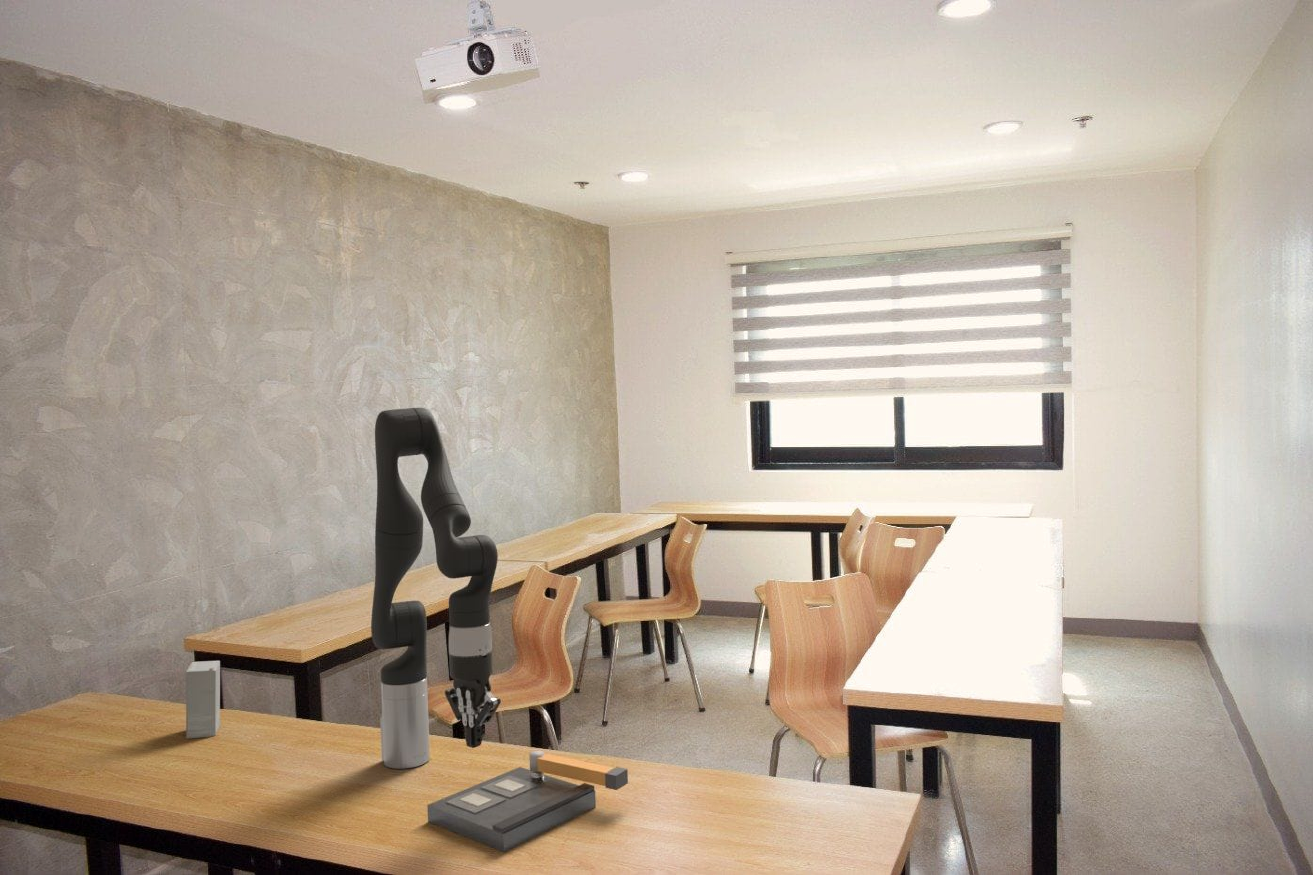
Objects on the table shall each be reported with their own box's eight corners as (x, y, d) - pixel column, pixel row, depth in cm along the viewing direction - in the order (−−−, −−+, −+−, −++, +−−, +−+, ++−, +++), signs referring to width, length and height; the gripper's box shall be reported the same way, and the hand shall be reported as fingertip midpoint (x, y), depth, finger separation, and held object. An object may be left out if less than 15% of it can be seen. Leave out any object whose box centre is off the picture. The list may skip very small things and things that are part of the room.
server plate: (427, 821, 171) (427, 799, 171) (521, 781, 188) (520, 762, 188) (503, 852, 159) (503, 828, 158) (596, 806, 176) (595, 785, 176)
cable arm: (616, 791, 172) (616, 774, 172) (525, 770, 183) (525, 755, 183) (627, 784, 175) (627, 767, 175) (537, 764, 186) (537, 749, 186)
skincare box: (190, 728, 227) (187, 661, 226) (224, 724, 229) (221, 658, 229) (184, 740, 219) (181, 670, 218) (219, 736, 221) (216, 667, 221)
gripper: (429, 648, 172) (433, 744, 173) (478, 659, 164) (482, 760, 165) (463, 639, 178) (466, 733, 179) (511, 649, 170) (515, 747, 170)
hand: (474, 745), depth 172 cm, fingers closed
